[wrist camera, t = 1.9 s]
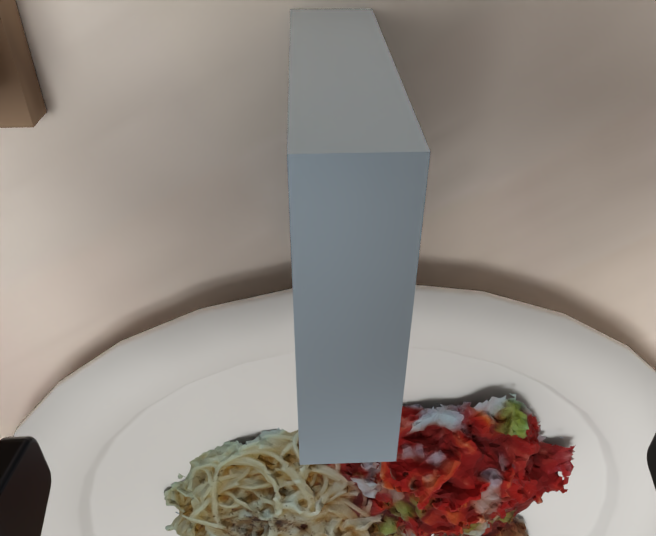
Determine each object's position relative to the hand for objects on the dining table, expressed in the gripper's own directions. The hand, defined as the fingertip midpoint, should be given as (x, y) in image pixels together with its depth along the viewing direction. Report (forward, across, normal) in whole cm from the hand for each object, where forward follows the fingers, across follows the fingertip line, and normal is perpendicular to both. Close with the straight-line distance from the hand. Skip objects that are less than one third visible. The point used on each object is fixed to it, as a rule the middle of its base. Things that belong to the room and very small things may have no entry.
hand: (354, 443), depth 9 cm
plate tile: (+10, 0, 0) cm, 10 cm away
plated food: (+11, -1, +19) cm, 22 cm away
